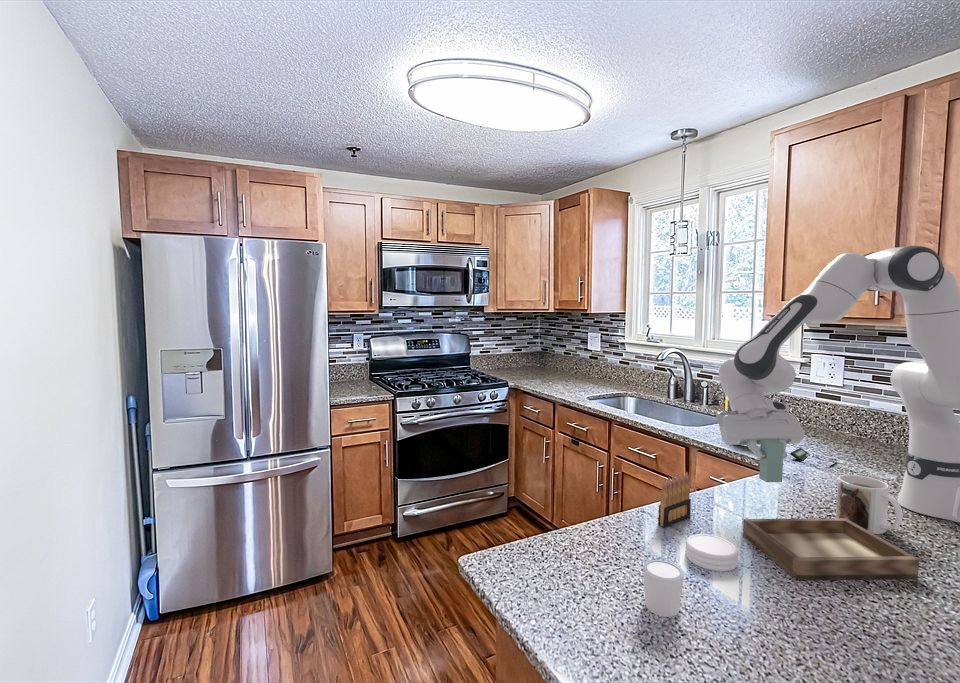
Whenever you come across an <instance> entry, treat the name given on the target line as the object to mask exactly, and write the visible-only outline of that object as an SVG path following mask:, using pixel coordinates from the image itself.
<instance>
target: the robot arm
mask: <svg viewBox="0 0 960 683" xmlns="http://www.w3.org/2000/svg"><path fill="white" fill-rule="evenodd" d="M866 291H868V292H898V293H899V294H900V295H901V297H902V299H903V307H904V308H903V309H904V319H905V327H906V334H907V335H906V336H907V341H908V344H909V345H910V346H911V347H912V348H914V349H915V350H916V351H917V352H918V353H919V355H920V356H921V358H922V359H923V360H913V361H905V362H903V363H899V364H898V365H897V366H895V367H894V368H893V370H892V371H891V374H890V379H889V380H890V383H891V387H892V388H893V390H894V391H896V393H897V394H898V395H899V397H900V398H901V401H902V404H903V405H904V409H905V412H906V416H907V419H908V429H909V430H908V434H909V436H908V450H907V451H906V453H905V458H904V459H905V462H904V465H905V471H904V474H903V475H904V476H903V480H902V483H901V484H902V485H901V488H900V491H898V495H897V496H898V497H897V498H896V500H897V501H898V502H899V504H900V506H901V507H903V508H905V509H907V510H910V511H912V512H915V513H919V514H921V515H924V516H925V515H926V516H928V517H929V516H930V517H933V518H936V519H937V518H938V519H943V520H949V521H952V522H955V523H956V522H957V523H958V524H960V421H959V420H958V418H957V417H956V416H957V415H955V411H954V410H958V411H959V410H960V288H959V285H958V282H957V280H956V277H955V275H954V274H953V272H951V271H950V270H948V269H945V267H944V265H943V261H942V259H941V257H940V256H939V254H938V253H937V252H936V251H935V250H934V249H932V248H929V247H926V246H923V245H909V246H900V247H899V246H898V247H897V246H896V247H891V248H886V249H883V250H879V251H875V252H870V253H866V254H864V255H863V254H860V253H855V252H845V253H842V254H840V255H838V256H837V257H836V258H834V259H833V260H832V261H830V263H828V264H827V266H825V267H824V268H823V269H822V271H821V272H820V273H819V274H818V275H817V276H816V278H815V279H814V280H813V281H812V282H811V284H810V285H809V286H808V287H807V288H806V289H805V290H804V291H803V292H802V293H800V294H799V295H796V296H795V297H793V298H791V299H790V300H789V301H788V302H787V303H786V304H785V305H784V306H783V307H781V308H780V310H779V311H778V312H777V313H776V314H775V315H774V316H772V317H771V319H770V320H769V321H768V322H767V323H766V324H765V326H764V327H763V328H761V329H760V331H758V332H757V333H756V334H755V335H754V336H753V337H751V338H750V339H748V340H747V341H746V342H744V343H743V344H742V345H740V346H739V348H738V349H737V350H736V352H735V354H734V357H732V358H729V359H727V360H726V361H724V362H723V363H721V365H720V367H719V369H718V379H719V382H720V386H721V388H722V391H723V394H724V395H725V396H726V397H727V399H728V400H729V402H730V407H731V410H732V411H729V412H727V411H722V410H721V411H719V412H718V413H716V415H715V420H716V422H717V425H718V426H719V431H720V435H721V439H722V441H723V442H724V443H725V444H726V445H727V446H729V445H730V446H736V445H747V446H746V447H747V448H748V449H749V450H750V451H751V452H752V453H754V454H755V457H756V458H757V460H760V459H765V458H766V454H765V452H764V450H760V448H759V446H758V445H760V443H761V440H778V441H780V442H783V443H784V448H783V460H785V459H787V458H788V452H787V451H786V448H787V445H798V444H800V442H802V440H804V438H805V436H806V435H805V431H804V429H803V428H802V425H801V424H800V422H799V420H798V419H797V417H796V416H795V414H792V413H791V412H790V411H791V409H790V406H789V405H788V404H787V403H785V402H781V401H776V400H772V399H769V398H766V397H768V396H771V395H775V394H778V393H781V392H784V391H786V390H787V389H789V388H790V387H791V386H792V385H793V384H794V382H795V380H796V374H797V373H796V370H795V367H794V366H793V365H792V364H791V363H789V361H788V360H787V359H786V358H784V356H782V355H781V354H780V350H781V347H782V346H784V344H785V343H786V342H787V341H788V340H789V339H790V338H791V336H793V334H794V333H796V331H797V330H798V329H799V328H800V327H801V326H803V325H804V324H807V323H816V324H832V323H836V322H839V321H840V320H842V319H843V318H845V316H846V315H847V314H848V313H849V312H850V311H851V310H852V308H854V306H856V304H857V302H858V301H859V299H860V298H861V297H862V296H863V294H864V293H865V292H866ZM765 396H766V397H765Z"/></svg>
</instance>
